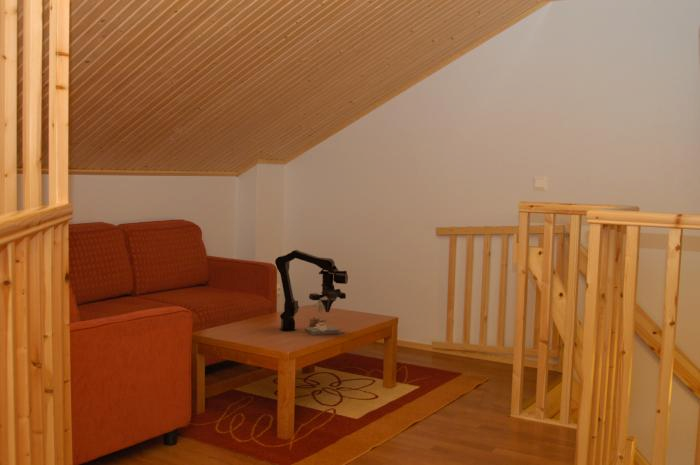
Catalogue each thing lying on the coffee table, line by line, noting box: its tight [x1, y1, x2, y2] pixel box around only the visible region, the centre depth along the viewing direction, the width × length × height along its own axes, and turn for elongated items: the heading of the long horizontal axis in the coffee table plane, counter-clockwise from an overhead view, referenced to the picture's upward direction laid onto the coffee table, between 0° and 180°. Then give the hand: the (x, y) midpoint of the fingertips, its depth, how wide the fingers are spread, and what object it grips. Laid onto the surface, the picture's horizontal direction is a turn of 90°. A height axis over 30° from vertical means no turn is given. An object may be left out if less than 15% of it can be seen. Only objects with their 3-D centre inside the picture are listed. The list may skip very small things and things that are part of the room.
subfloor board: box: [304, 325, 341, 336], centre depth 413 cm, size 15×12×2 cm
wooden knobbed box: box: [309, 316, 319, 327], centre depth 422 cm, size 4×4×6 cm
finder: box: [316, 322, 328, 331], centre depth 409 cm, size 4×5×3 cm
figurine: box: [311, 293, 325, 322], centre depth 440 cm, size 11×4×15 cm, turn 61°
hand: (327, 312), depth 410 cm, fingers closed
